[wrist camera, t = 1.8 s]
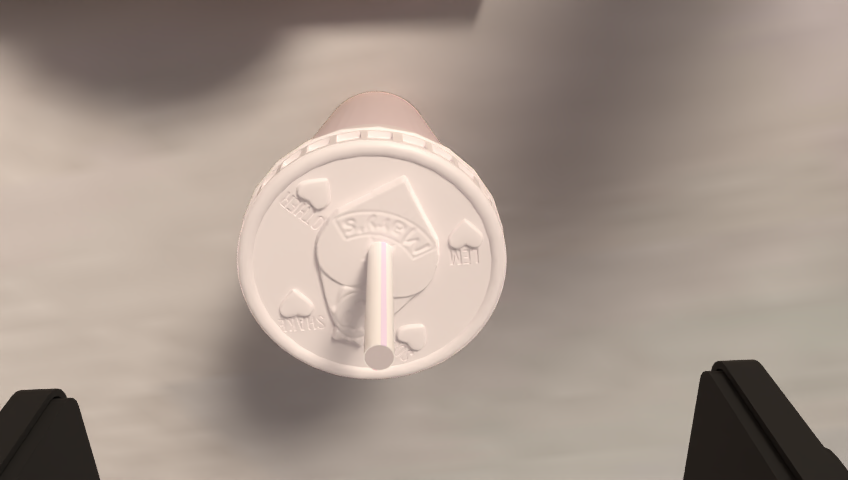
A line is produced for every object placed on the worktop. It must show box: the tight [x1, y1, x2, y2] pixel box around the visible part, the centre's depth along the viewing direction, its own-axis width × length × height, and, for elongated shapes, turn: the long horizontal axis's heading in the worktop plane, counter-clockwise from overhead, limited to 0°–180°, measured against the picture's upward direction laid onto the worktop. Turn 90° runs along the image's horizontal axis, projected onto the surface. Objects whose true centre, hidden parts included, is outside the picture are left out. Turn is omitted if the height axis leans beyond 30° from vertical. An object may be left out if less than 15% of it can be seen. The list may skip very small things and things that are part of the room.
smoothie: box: [237, 91, 507, 379], centre depth 19 cm, size 6×6×14 cm
